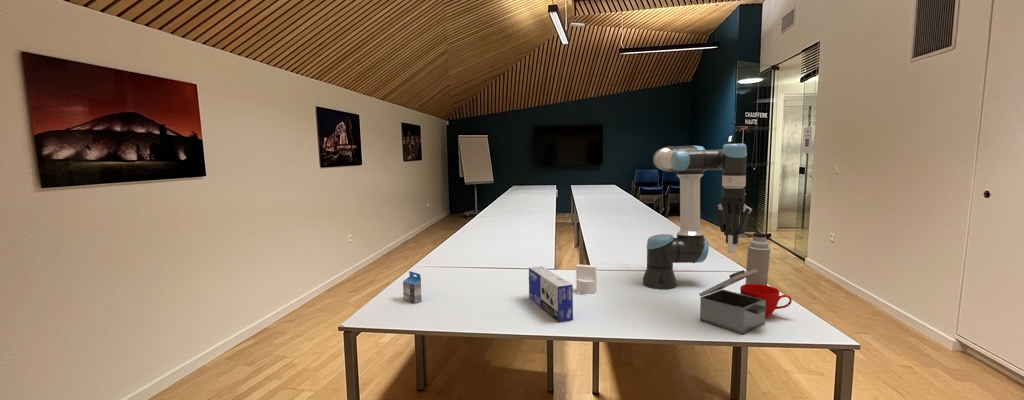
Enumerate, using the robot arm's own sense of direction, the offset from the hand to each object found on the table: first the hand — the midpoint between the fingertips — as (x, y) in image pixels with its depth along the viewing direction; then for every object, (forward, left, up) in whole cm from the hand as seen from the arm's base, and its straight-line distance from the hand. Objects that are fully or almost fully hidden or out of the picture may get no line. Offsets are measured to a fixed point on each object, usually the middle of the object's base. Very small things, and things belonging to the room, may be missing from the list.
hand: (731, 252), depth 161 cm
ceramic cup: (+5, +17, -26) cm, 31 cm away
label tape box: (-97, -82, -26) cm, 130 cm away
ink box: (-52, -42, -26) cm, 72 cm away
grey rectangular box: (+2, 0, -26) cm, 26 cm away
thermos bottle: (-6, +32, -26) cm, 42 cm away
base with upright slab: (-58, -15, -26) cm, 65 cm away
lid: (-1, 0, -12) cm, 12 cm away
